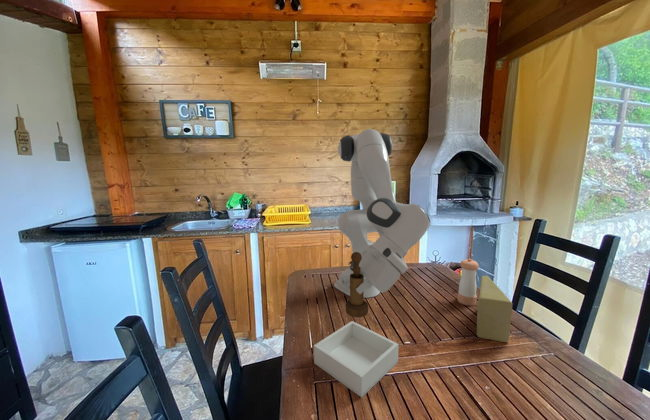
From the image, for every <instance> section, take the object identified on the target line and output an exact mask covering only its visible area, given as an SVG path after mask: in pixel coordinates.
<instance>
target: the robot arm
mask: <svg viewBox="0 0 650 420" xmlns="http://www.w3.org/2000/svg"><path fill="white" fill-rule="evenodd" d="M392 141H393V140H392V137H391V136H390V135H389V134H388V133H383V132H379V131H377V129H373V128H367V129H364V130H362V131H361V132H359V133H358V134H353V135H351V134H348V135H344V136H342V137H341V138H340V139H339V143H338V146H337V147H338V148H337V150H338V155H339V157H340V160H342V161H344V162H349V163H350V162H351V165H350V192H351V196H352V198H353V199H354V200H356V201H358V202H360V204H361V207H362V209H353V210H348V211H345V212H343V213H341V214H340V215H339V217H338V219H337V220H338V221H337V225H338V229H339V230H340V232H341V233H342V235H345V236H346V237H347V238H348V240H349V241H350V244H351V249H352V254H353V253H354V252H359V253H360V254H361V256H362V259H361V261H360V263H359V267H360V268H361V269H360V274H362V275H363V276H364V282H363V283H362V284H360V285H359V284H358V285H357V287H356V288H355V289H356V291H357V292H358V293H359V294H361V293H362V292H363V291H364V299H365V298H367V299H368V298H373V297H376V296H378V295H379V294H380V293H386V292H388V291H389V290H390V289H391V288H392V287H393V286H394V284H395V283H396V282H397V281H398V280H399V279H400V277H401V275H402V274H405V273H406V272H407V271H408V265H407V263H406V261H405V257H406V255H407V254H408V252H409V251H410V250H411V248H412V247H413V246H415V245H416V244H417V243H418V242H419V241H420V240H422V238H423V236H424V235H425V233H427V231H428V230H429V228H430V226H431V219H430V216H429V215H428V213H427V212H426V211H425V210H424V208H422V207H421V206H420V205H419V204H416V203H408V204H407V203H401V202H398V201H397V200H396V194H395V192H394V188H393V183H392V181H393V180H392V176H391V168H390V167H391V166H390V160H389V158H390V156H391V155H392V154H391V153H392V151H393V142H392ZM371 233H378V235H379V237H378V238H377V240H375V242H373V241H371V240H369V239H368V234H371ZM347 265H348V266H349V267H348V268H347V269H345V270H343V271H342V272H341V273H340V274H339V277H338V279H337V280H336V281H335V282H334V284H333V288H335V289H337V290H339V291H340V292H341V293H343V294H346V295H347V296H348V297H350V275H351V274H353V267H354V263H353V261H352V260H351V261H349V262H348V263H347Z"/></svg>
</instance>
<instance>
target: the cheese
mask: <svg viewBox="0 0 650 420" xmlns="http://www.w3.org/2000/svg"><path fill="white" fill-rule="evenodd" d="M477 299H478V300H477V308H476V309H477V314H476V315H477V316H476V336H477V337H478V338H481V339H485V340H489V339H490V340H489V341H495V342H500V343H501V342H502V343H508V342H509V339H510V333H511V323H512V321H511V320H512V312H513V302H512V300H510V299H509V297H508V296H507V295H506V294H505V293H504V291H502V290H501V288H500V287H498V285H497V284H496V283H495V282H494V281H493V280H492V279H491V277H490V276H488V275H481V278H480V284H479V292H478V297H477Z"/></svg>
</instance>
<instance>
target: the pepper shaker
mask: <svg viewBox="0 0 650 420" xmlns="http://www.w3.org/2000/svg"><path fill="white" fill-rule="evenodd" d="M459 265H460V268H461V276H460V280H459V284H458V291H457V297H456V298H457V299H456V300H457V301H458V303H459V304H462V305H464V306H469V307H470V306H475V305H476V304H477V299H478V297H477V288H478V287H477V270H478V269H479V267H480V265H479V263H478V262H477V261H476V260H474V259H471V258H468V259H463V260H461V261H460V264H459Z"/></svg>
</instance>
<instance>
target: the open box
mask: <svg viewBox="0 0 650 420" xmlns="http://www.w3.org/2000/svg"><path fill="white" fill-rule="evenodd" d="M399 345H400V344H399V343H398V342H395V341H393V340H391V339H390V338H387V337H386V336H384V335H382V334H379V333H377V332H375V331H373V330H371V329H370V328H368V327H365V326H363V325H361V324H359V323H357V322H355V321H353V320H352V321H350V322H348V323H346V324H345V325H343V326H342V327H340V328H339V329H337V330H335V331H334V332H333V333H331V334H330V335H328V336H326V337H325V338H323V339H322V340H320V341H318V342H317V343H315V344H314V345H313V360H314V361H313V362H314V365H316V366H318V367H319V368H320V369H321V370H323V371H324V372H326V373H327V374H329V375H330V376H332V377H333V378H334V379H335V380H336V381H338V382H339V383H341V384H342V385H344V386H345V387H346V388H347V389H349V390H350V391H351V392H353V393H355V394H356V395H357V396H358V397H360V398H363V397H364V396H365V395H366V394H368V392H369V391H370V390H372V388H373V387H374V386H375V385H376V384H377V383H379V382H380V380H381V379H382V378H383V377H385V375H386V374H388V372H390V370H392V369H393V368H394V367H395V365H397V364H398V363H399V347H400V346H399Z"/></svg>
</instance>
